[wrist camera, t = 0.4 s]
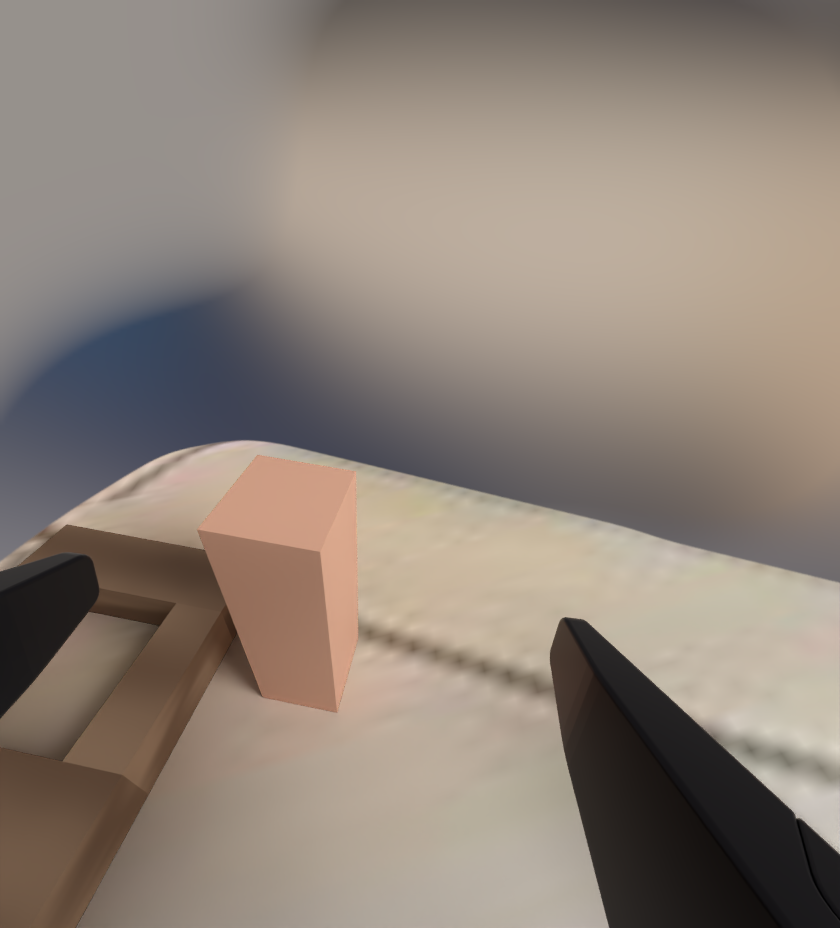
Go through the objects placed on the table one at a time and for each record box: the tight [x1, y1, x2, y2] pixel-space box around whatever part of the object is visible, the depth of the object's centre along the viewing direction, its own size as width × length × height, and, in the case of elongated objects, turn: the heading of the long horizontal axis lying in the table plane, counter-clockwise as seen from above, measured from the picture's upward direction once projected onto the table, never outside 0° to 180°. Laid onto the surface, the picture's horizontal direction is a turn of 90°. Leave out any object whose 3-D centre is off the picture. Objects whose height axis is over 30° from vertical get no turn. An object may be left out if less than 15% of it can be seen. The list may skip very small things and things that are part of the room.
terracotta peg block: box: [197, 455, 358, 712], centre depth 18 cm, size 4×4×13 cm
